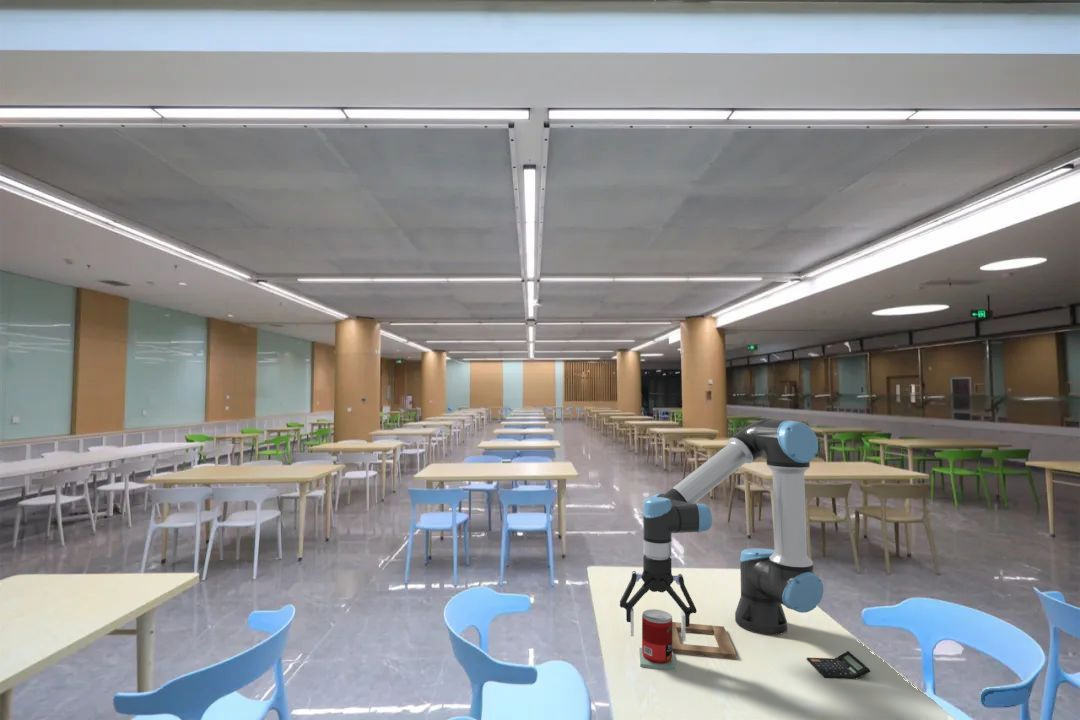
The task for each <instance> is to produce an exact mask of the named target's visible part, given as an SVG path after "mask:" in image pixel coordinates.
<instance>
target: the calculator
mask: <svg viewBox="0 0 1080 720" xmlns="http://www.w3.org/2000/svg"><path fill="white" fill-rule="evenodd" d="M806 661H807V662H808V663H809V664H810V665H811V666H812V667H813V668H814V669H815V670H816V671H817V672H818V673H819V674H820V675H821V676H822V677H823V678H824V679H840V680H841V679H842V680H845V679H846V680H857V679H859V678H861V677H864V676H866V675H867V674H869V673H871V670H870V668H869V667H867V666H866V665H865V663H863V662H862V661H861V660H859V659H858V658H857V657H856V656H855V655H854V654H852V653H851V652H850V651H849V650H847V651H845V652H844V653H842V654H840V655H838V656H837V657H834V658H832V657H829V658H828V657H826V658H824V657H806ZM856 678H857V679H856Z"/></svg>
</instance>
